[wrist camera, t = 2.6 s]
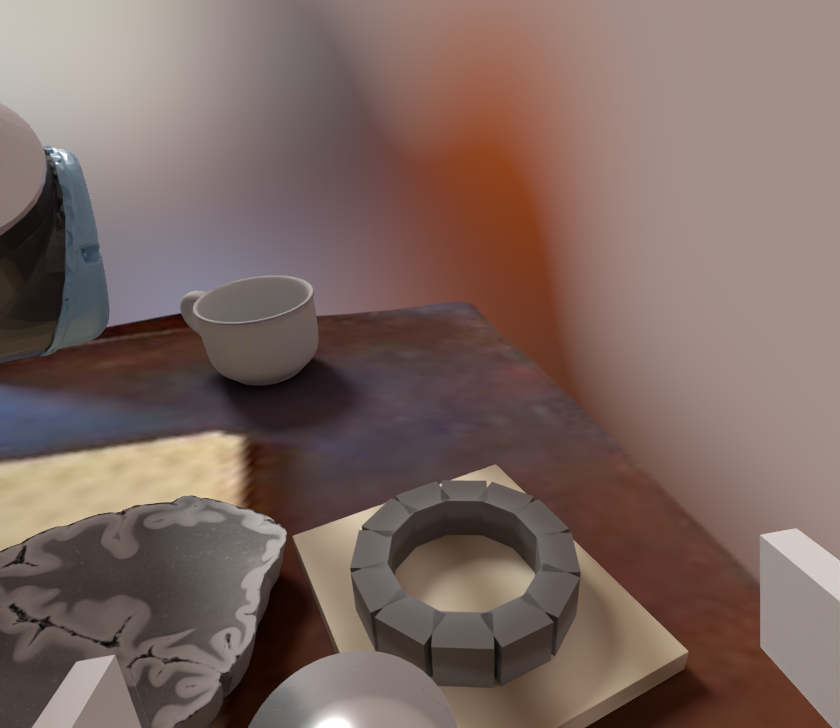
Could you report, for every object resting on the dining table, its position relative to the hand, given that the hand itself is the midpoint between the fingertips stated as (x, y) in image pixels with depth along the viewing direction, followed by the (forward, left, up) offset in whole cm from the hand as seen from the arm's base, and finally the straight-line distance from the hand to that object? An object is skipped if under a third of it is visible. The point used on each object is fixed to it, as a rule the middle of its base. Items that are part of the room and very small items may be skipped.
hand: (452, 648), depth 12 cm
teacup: (+3, +46, -15) cm, 49 cm away
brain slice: (-11, +17, -15) cm, 25 cm away
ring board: (+7, +12, -15) cm, 20 cm away
